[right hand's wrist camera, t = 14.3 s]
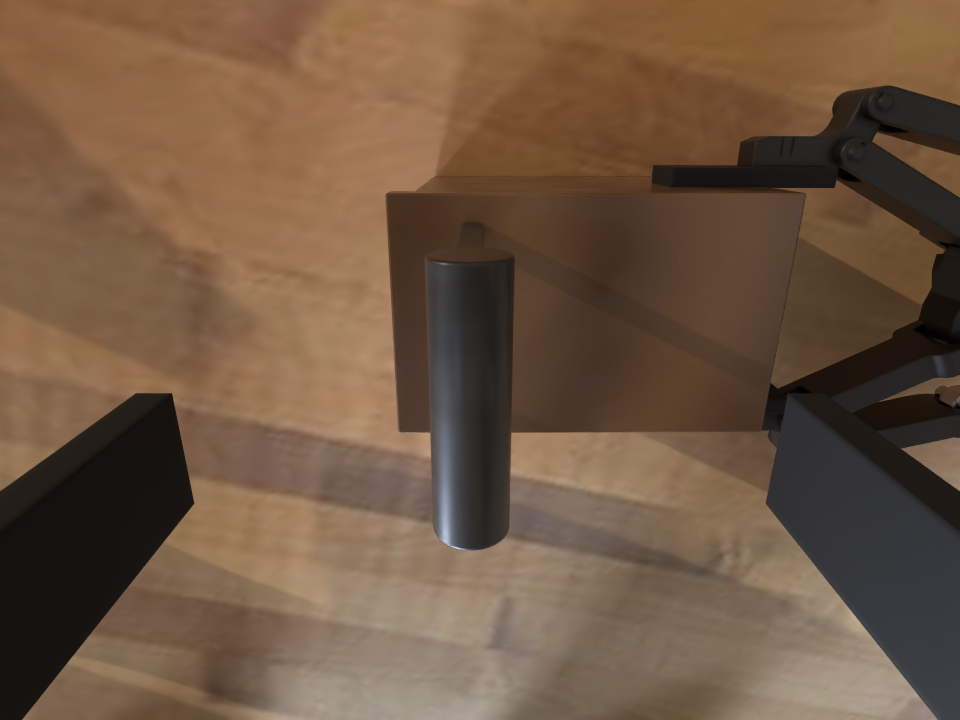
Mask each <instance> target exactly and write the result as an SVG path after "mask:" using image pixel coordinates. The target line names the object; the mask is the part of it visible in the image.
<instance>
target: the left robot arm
mask: <svg viewBox="0 0 960 720" xmlns="http://www.w3.org/2000/svg"><path fill="white" fill-rule="evenodd" d="M832 111H833V115H834V116H833V117H832V119H831V121H830V123H829V125H828V126H827V128H826V129H825V130H824V131H823V132H821V133H820V134H818V135H816V136H764V137H752V138H749V139H747V140H744V141H742V142H741V144H740V151H739V157H738V164H737V165H653V173H652V183H655V184H659V185H664V186H669V187H767V188H835V183H836V180H838V181H839V182H841V183H843V184H844V185H846V186H847V187H849V188H851V189H852V190H854V191H856V192H857V193H859V194H860V195H862V196H864V197H865V198H867V199H869V200H870V201H872V202H873V203H875V204H877V205H878V206H880V207H882V208H883V209H885V210H886V211H888V212H890V213H891V214H893V215H894V216H896V217H898V218H899V219H901V220H903V221H904V222H906V223H907V224H909V225H911V226H912V227H914V228H916V229H917V230H919V231H920V233H919V234H920V235H922V236H923V237H925V238H926V239H928V240H930V241H931V242H933V243H935V244H936V245H938V246H939V247H941V248H943V249H944V250H945V252H944V253H943V254H936V258H935V262H934V265H933V269H932V288H931V290H930V292H929V294H928V296H927V297H926V299H925V301H924V303H923V305H922V309H921V313H920V316H919V320H918V321H916V322H913V323H911V324H909V325H907V326H904V327H902V328H900V329H898V330H896V331H894V333H893V337H892V338H891V339H889V340H887V341H885V342H882V343H880V344H878V345H876V346H873V347H871V348H869V349H867V350H864V351H862V352H860V353H858V354H855V355H853V356H851V357H849V358H846V359H844V360H842V361H840V362H837V363H835V364H833V365H831V366H828V367H826V368H824V369H821V370H819V371H817V372H815V373H812V374H810V375H808V376H806V377H803V378H801V379H799V380H797V381H794V382H792V383H790V384H788V385H785V386H783V387H781V388H779V389H778V388H776V387H775V386H774V385H773V384H771V383H770V387H769V393H768V398H767V403H766V408H765V414H764V419H763V424H762V430H770V431H769V433H768V438H769V440H770V441H771V442H772V443H773V444H774V445H775V447H776V448H777V446H778V441H779V436H780V431H781V426H782V421H783V416H784V411H785V406H786V401H787V396H788V393H824V394H825V395H827V396H828V397H830V398H831V399H832V400H834V401H835V402H837V403H838V404H839V405H841V406H842V407H843V408H845V409H846V410H848V411H849V412H850V413H852V414H853V415H855V416H856V417H857V418H859V419H860V420H861V421H863V422H864V423H866V424H867V425H868V426H870V427H871V428H873V429H874V430H875V431H877V432H878V433H879V434H881V435H882V436H884V437H885V438H886V439H888V440H889V441H891V442H892V443H893V444H895V445H896V446H897V447H899V448H905V447H910V446H915V445H919V444H924V443H929V442H934V441H938V440H943V439H948V438H953V437H956V438H960V385H956V386H951V387H946V386H940V387H938V388H937V389H936V391H935V394H916V395H910V396H905V397H900V398H896V399H891V400H886V401H882V402H878V401H881V400H883V399H885V398H888V397H890V396H892V395H895V394H897V393H899V392H902V391H904V390H906V389H909V388H911V387H913V386H916V385H918V384H920V383H923V382H925V381H928V380H930V379H932V378H937V377H941V378H950V377H955V376H958V375H960V198H959V197H958V196H956V195H954V194H953V193H951V192H950V191H948V190H947V189H945V188H944V187H942V186H940V185H939V184H937V183H936V182H934V181H933V180H931V179H929V178H928V177H926V176H925V175H923V174H922V173H920V172H919V171H917V170H915V169H914V168H912V167H911V166H909V165H908V164H906V163H904V162H903V161H901V160H900V159H898V158H897V157H895V156H893V155H892V154H890V153H889V152H887V151H886V150H884V149H883V148H881V147H879V146H878V145H876V144H875V143H873V142H872V140H873V138H874V136H875V134H876V132H878V133H882V134H885V135H889V136H893V137H896V138H900V139H903V140H907V141H910V142H914V143H917V144H921V145H924V146H928V147H931V148H935V149H938V150H942V151H945V152H949V153H953V154H956V155H960V106H959V105H956V104H953V103H949V102H946V101H942V100H939V99H936V98H932V97H929V96H925V95H922V94H918V93H915V92H912V91H908V90H905V89H901V88H898V87H894V86H880V87H873V88H866V89H859V90H852V91H847V92H844V93H842V94H841V95H839V96H838V97H837V98H836V100H835V102H834V104H833V108H832ZM876 402H877V403H876Z"/></svg>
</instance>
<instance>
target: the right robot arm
mask: <svg viewBox="0 0 960 720" xmlns="http://www.w3.org/2000/svg"><path fill="white" fill-rule="evenodd" d="M193 504H194V500H193V495H192V490H191V485H190V480H189V475H188V470H187V465H186V460H185V455H184V450H183V446H182V441H181V436H180V431H179V426H178V421H177V416H176V411H175V406H174V401H173V396H172V393H136V394H135V395H133V396H132V397H130V398H129V399H128V400H126V401H125V402H123V403H122V404H121V405H119V406H118V407H117V408H115V409H114V410H112V411H111V412H110V413H108V414H107V415H105V416H104V417H103V418H101V419H100V420H99V421H97V422H96V423H94V424H93V425H92V426H90V427H89V428H87V429H86V430H85V431H83V432H82V433H81V434H79V435H78V436H76V437H75V438H74V439H72V440H71V441H69V442H68V443H67V444H65V445H64V446H63V447H61V448H60V449H58V450H57V451H56V452H54V453H53V454H51V455H50V456H49V457H47V458H46V459H45V460H43V461H42V462H40V463H39V464H38V465H36V466H35V467H33V468H32V469H31V470H29V471H28V472H27V473H25V474H24V475H22V476H21V477H20V478H18V479H17V480H15V481H14V482H13V483H11V484H10V485H9V486H7V487H6V488H4V489H3V490H2V491H0V720H22V719H23V718H24V717H25V715H26V714H27V713H28V712H29V710H30V709H31V708H32V706H33V705H34V704H35V703H36V701H37V700H38V699H39V698H40V696H41V695H42V694H43V693H44V691H45V690H46V689H47V688H48V686H49V685H50V684H51V683H52V681H53V680H54V679H55V678H56V676H57V675H58V674H59V673H60V671H61V670H62V669H63V668H64V666H65V665H66V664H67V663H68V661H69V660H70V659H71V658H72V656H73V655H74V654H75V653H76V651H77V650H78V649H79V648H80V646H81V645H82V644H83V642H84V641H85V640H86V639H87V637H88V636H89V635H90V634H91V632H92V631H93V630H94V629H95V627H96V626H97V625H98V624H99V622H100V621H101V620H102V619H103V617H104V616H105V615H106V614H107V612H108V611H109V610H110V609H111V607H112V606H113V605H114V604H115V602H116V601H117V600H118V599H119V597H120V596H121V595H122V594H123V592H124V591H125V590H126V589H127V587H128V586H129V585H130V584H131V582H132V581H133V580H134V578H135V577H136V576H137V575H138V573H139V572H140V571H141V570H142V568H143V567H144V566H145V565H146V563H147V562H148V561H149V560H150V558H151V557H152V556H153V555H154V553H155V552H156V551H157V550H158V548H159V547H160V546H161V545H162V543H163V542H164V541H165V540H166V538H167V537H168V536H169V535H170V533H171V532H172V531H173V530H174V528H175V527H176V526H177V525H178V523H179V522H180V521H181V520H182V518H183V517H184V516H185V514H186V513H187V512H188V511H189V509H190V508H191V507H192V506H193ZM766 504H767V506H768V507H769V508H770V509H771V511H772V512H773V513H774V514H775V516H776V517H777V518H778V520H779V521H780V522H781V523H782V525H783V526H784V527H785V528H786V530H787V531H788V532H789V533H790V535H791V536H792V537H793V538H794V540H795V541H796V542H797V543H798V545H799V546H800V547H801V548H802V550H803V551H804V552H805V553H806V555H807V556H808V557H809V558H810V560H811V561H812V562H813V563H814V565H815V566H816V567H817V568H818V570H819V571H820V572H821V573H822V575H823V576H824V577H825V578H826V580H827V581H828V582H829V584H830V585H831V586H832V587H833V589H834V590H835V591H836V592H837V594H838V595H839V596H840V597H841V599H842V600H843V601H844V602H845V604H846V605H847V606H848V607H849V609H850V610H851V611H852V612H853V614H854V615H855V616H856V617H857V619H858V620H859V621H860V622H861V624H862V625H863V626H864V627H865V629H866V630H867V631H868V632H869V634H870V635H871V636H872V637H873V639H874V640H875V641H876V642H877V644H878V645H879V646H880V648H881V649H882V650H883V651H884V653H885V654H886V655H887V656H888V658H889V659H890V660H891V661H892V663H893V664H894V665H895V666H896V668H897V669H898V670H899V671H900V673H901V674H902V675H903V676H904V678H905V679H906V680H907V681H908V683H909V684H910V685H911V686H912V688H913V689H914V690H915V691H916V693H917V694H918V695H919V696H920V698H921V699H922V700H923V701H924V703H925V704H926V705H927V706H928V708H929V709H930V710H931V712H932V713H933V714H934V715H935V717H936V718H937V719H938V720H960V491H958V490H957V489H956V488H954V487H953V486H951V485H950V484H949V483H947V482H946V481H945V480H943V479H942V478H940V477H939V476H938V475H936V474H935V473H933V472H932V471H931V470H929V469H928V468H927V467H925V466H924V465H922V464H921V463H920V462H918V461H917V460H915V459H914V458H913V457H911V456H910V455H909V454H907V453H906V452H904V451H903V450H902V449H900V448H899V447H897V446H896V445H895V444H893V443H892V442H891V441H889V440H888V439H886V438H885V437H884V436H882V435H881V434H879V433H878V432H877V431H875V430H874V429H873V428H871V427H870V426H868V425H867V424H866V423H864V422H863V421H861V420H860V419H859V418H857V417H856V416H855V415H853V414H852V413H850V412H849V411H848V410H846V409H845V408H843V407H842V406H841V405H839V404H838V403H837V402H835V401H834V400H832V399H831V398H830V397H828V396H827V395H825V394H824V393H788V396H787V401H786V406H785V411H784V416H783V421H782V426H781V431H780V436H779V441H778V446H777V450H776V455H775V460H774V465H773V470H772V475H771V480H770V485H769V490H768V495H767V500H766Z"/></svg>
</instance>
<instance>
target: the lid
mask: <svg viewBox="0 0 960 720" xmlns="http://www.w3.org/2000/svg"><path fill="white" fill-rule="evenodd" d="M805 197H806V194H805V193H801V192H794V191H390V192H388V193H387V194H386V213H387V231H388V250H389V268H390V286H391V305H392V323H393V341H394V359H395V378H396V396H397V414H398V431H399V433H431V463H432V493H433V524H434V531H435V533H436V535H437V537H438V538H439V539H440V540H441V541H442V542H443V543H445V544H447V545H448V546H451V547H453V548H456V549H461V550H481V549H485V548H489V547H491V546H494V545H496V544H497V543H499V542H500V541H501V540H502V539H503V538H504V537H505V536H506V534H507V532H508V530H509V510H510V463H511V432H761V430H762V424H763V419H764V414H765V408H766V403H767V398H768V393H769V387H770V382H771V377H772V372H773V366H774V361H775V356H776V350H777V345H778V340H779V335H780V329H781V324H782V319H783V313H784V308H785V303H786V298H787V292H788V287H789V282H790V277H791V271H792V266H793V261H794V255H795V250H796V245H797V240H798V234H799V229H800V224H801V218H802V213H803V208H804V203H805Z"/></svg>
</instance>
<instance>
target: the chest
mask: <svg viewBox="0 0 960 720" xmlns="http://www.w3.org/2000/svg"><path fill="white" fill-rule="evenodd" d="M416 191H788V190H781V189H774V188H767V187H669V186H664V185H659V184H655V183H652V176H435V177H433V178H432V179H431V180H429V181H428V182H427V183H425V184H424V185H423V186H421V187H420V188H419V189H418V190H416Z"/></svg>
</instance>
